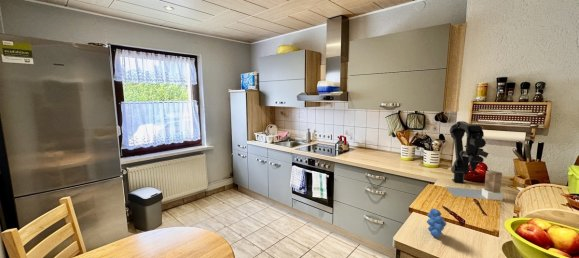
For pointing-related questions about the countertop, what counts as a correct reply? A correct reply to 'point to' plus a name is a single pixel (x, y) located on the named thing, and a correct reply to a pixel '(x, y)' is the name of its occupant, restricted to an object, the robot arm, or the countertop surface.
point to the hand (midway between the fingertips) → (469, 169)
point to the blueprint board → (475, 193)
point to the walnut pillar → (493, 181)
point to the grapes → (435, 223)
